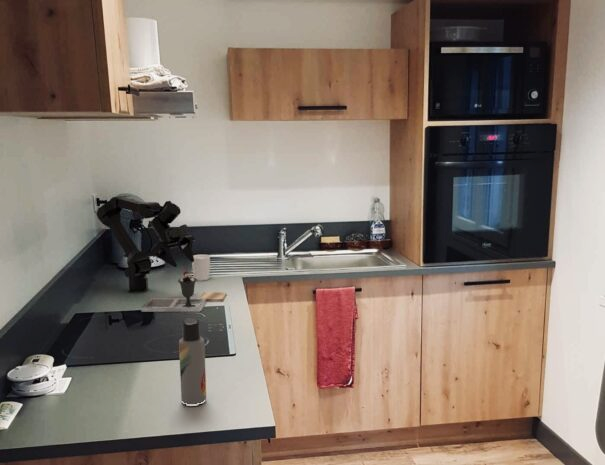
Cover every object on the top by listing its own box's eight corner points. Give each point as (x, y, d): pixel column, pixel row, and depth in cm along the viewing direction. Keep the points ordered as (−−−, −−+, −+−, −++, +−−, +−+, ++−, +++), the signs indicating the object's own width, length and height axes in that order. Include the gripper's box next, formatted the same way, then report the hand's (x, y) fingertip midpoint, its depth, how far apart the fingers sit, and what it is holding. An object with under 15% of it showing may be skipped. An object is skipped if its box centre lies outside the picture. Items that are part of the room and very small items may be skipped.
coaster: (198, 301, 205) (198, 299, 205) (203, 294, 214) (203, 292, 214) (222, 301, 205) (222, 299, 205) (226, 294, 214) (226, 292, 213)
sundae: (187, 303, 203) (186, 263, 200) (201, 306, 200) (200, 265, 197) (175, 307, 197) (173, 267, 195) (189, 310, 194) (187, 269, 191)
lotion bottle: (208, 395, 130) (205, 315, 127) (204, 407, 125) (201, 323, 121) (183, 396, 130) (180, 315, 127) (179, 407, 124) (175, 323, 121)
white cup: (212, 276, 241) (212, 254, 240) (207, 281, 234) (207, 258, 232) (195, 276, 242) (194, 254, 240) (190, 281, 234) (189, 258, 233)
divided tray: (141, 311, 193) (141, 307, 193) (150, 302, 204) (150, 298, 204) (200, 311, 193) (200, 307, 193) (206, 302, 204) (206, 298, 204)
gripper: (156, 221, 196) (178, 256, 193) (192, 215, 212) (213, 247, 209) (140, 239, 202) (162, 273, 198) (176, 231, 217) (197, 263, 214)
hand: (184, 264), depth 205 cm, fingers open, 9 cm apart
